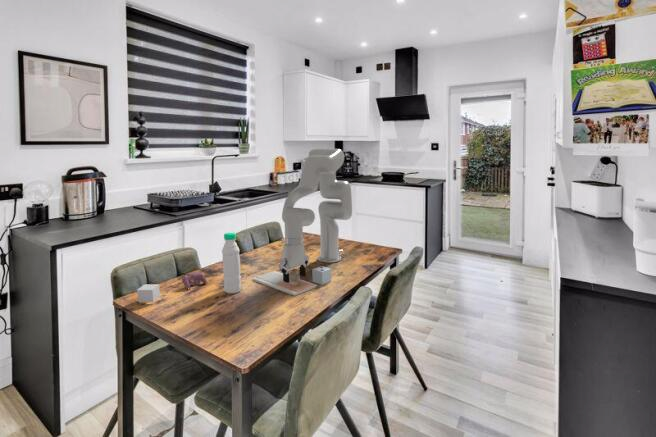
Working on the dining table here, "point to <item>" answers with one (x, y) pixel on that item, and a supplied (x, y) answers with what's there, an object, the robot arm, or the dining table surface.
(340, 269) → the dining table surface
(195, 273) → the video game controller
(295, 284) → the pawn
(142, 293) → the light grey cube
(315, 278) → the die
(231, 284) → the water bottle
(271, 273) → the board
